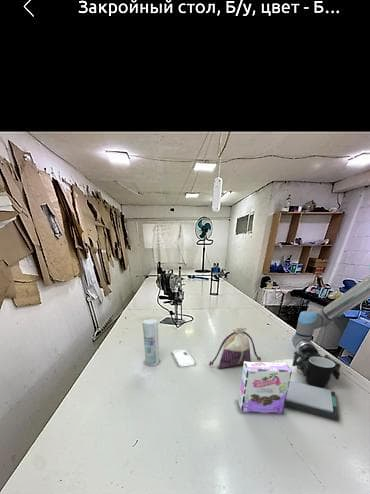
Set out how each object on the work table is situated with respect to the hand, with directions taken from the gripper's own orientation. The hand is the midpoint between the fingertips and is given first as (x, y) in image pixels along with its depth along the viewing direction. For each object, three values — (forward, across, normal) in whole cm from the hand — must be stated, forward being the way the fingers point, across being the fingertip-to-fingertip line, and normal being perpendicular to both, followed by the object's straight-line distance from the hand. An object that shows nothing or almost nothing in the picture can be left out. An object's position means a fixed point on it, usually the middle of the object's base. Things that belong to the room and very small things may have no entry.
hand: (322, 374), depth 89 cm
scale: (+10, +6, -6) cm, 13 cm away
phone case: (-13, +57, -6) cm, 58 cm away
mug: (-4, 0, -6) cm, 7 cm away
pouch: (-12, +32, -6) cm, 35 cm away
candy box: (+18, +23, -6) cm, 30 cm away
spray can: (-6, +70, -6) cm, 70 cm away
